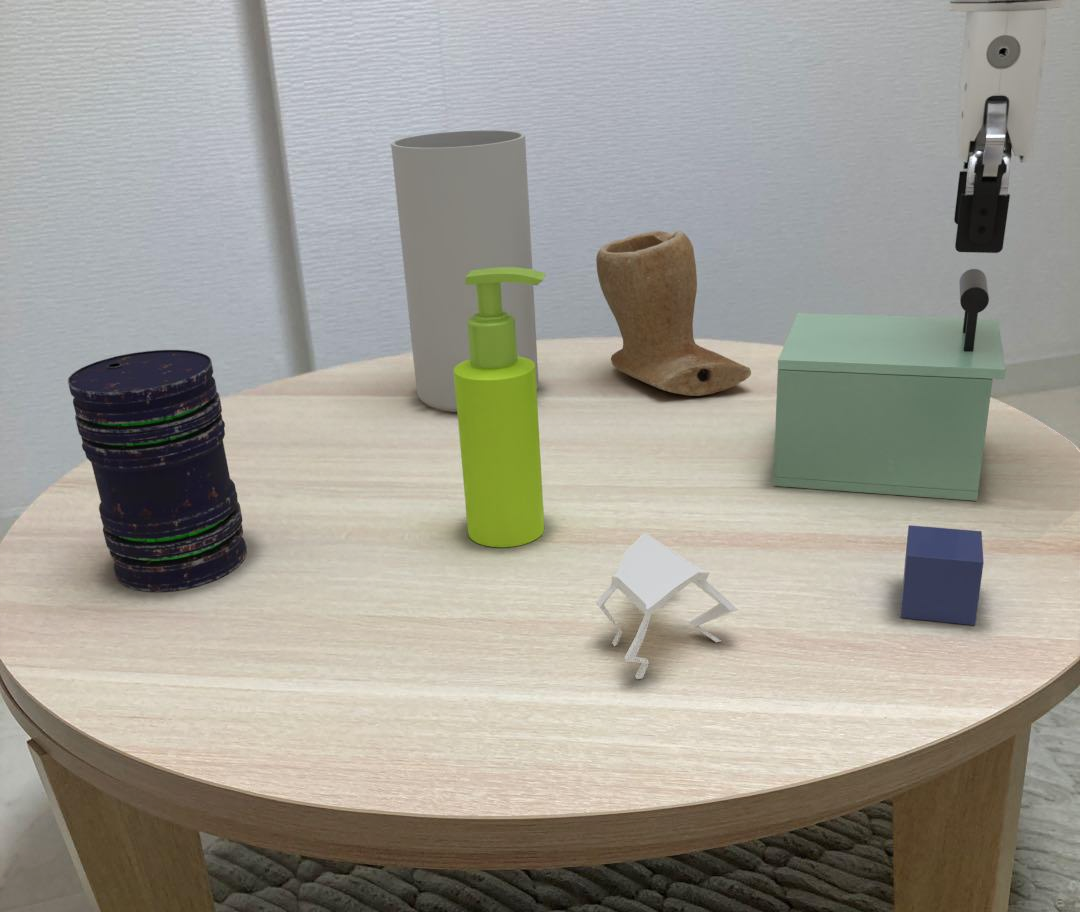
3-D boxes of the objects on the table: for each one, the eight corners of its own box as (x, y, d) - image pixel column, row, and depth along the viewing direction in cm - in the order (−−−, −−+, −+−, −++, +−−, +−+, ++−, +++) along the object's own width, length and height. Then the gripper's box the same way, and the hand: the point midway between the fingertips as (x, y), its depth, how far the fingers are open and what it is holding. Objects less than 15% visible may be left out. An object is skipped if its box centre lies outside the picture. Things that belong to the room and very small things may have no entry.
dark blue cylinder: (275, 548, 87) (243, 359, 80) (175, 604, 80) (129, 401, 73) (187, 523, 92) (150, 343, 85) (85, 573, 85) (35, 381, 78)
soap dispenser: (551, 548, 84) (537, 279, 75) (460, 546, 85) (436, 281, 77) (562, 515, 89) (550, 259, 81) (476, 513, 91) (455, 261, 82)
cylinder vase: (484, 368, 125) (466, 127, 114) (564, 391, 117) (552, 134, 106) (393, 397, 117) (364, 143, 106) (471, 424, 109) (448, 151, 98)
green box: (973, 438, 99) (986, 328, 95) (977, 501, 88) (992, 379, 84) (791, 427, 104) (796, 322, 100) (772, 486, 92) (777, 370, 88)
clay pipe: (582, 371, 122) (576, 229, 115) (679, 353, 126) (680, 215, 119) (647, 413, 109) (645, 256, 103) (753, 392, 113) (758, 239, 107)
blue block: (973, 591, 75) (981, 530, 73) (975, 625, 72) (983, 562, 70) (902, 585, 77) (908, 524, 75) (900, 618, 73) (906, 555, 71)
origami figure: (754, 667, 68) (756, 596, 66) (619, 689, 67) (617, 617, 65) (691, 578, 79) (691, 513, 77) (574, 595, 78) (571, 530, 76)
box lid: (997, 328, 95) (1006, 258, 92) (1004, 379, 83) (1014, 301, 81) (797, 321, 100) (800, 255, 97) (777, 369, 88) (780, 295, 86)
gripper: (1080, -14, 70) (1037, 265, 78) (1056, -20, 85) (1023, 215, 92) (951, -9, 72) (922, 262, 80) (950, -15, 87) (926, 214, 94)
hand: (976, 237), depth 86 cm, fingers open, 9 cm apart
